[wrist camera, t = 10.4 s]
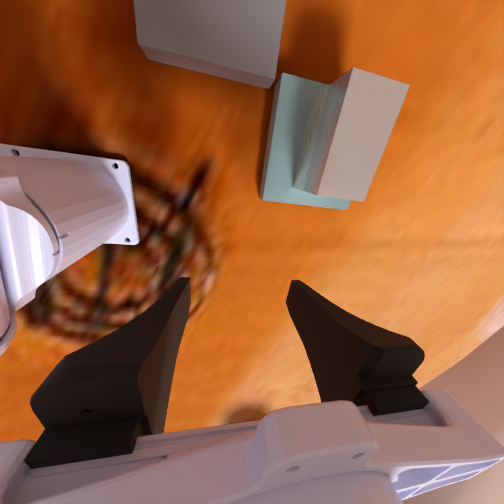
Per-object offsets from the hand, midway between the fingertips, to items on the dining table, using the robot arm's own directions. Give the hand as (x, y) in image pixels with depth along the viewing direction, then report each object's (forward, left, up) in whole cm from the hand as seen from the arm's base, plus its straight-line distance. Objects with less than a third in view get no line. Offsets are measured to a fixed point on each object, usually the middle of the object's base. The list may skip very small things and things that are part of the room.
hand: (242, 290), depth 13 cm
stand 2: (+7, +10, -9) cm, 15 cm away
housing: (+7, +10, -7) cm, 14 cm away
